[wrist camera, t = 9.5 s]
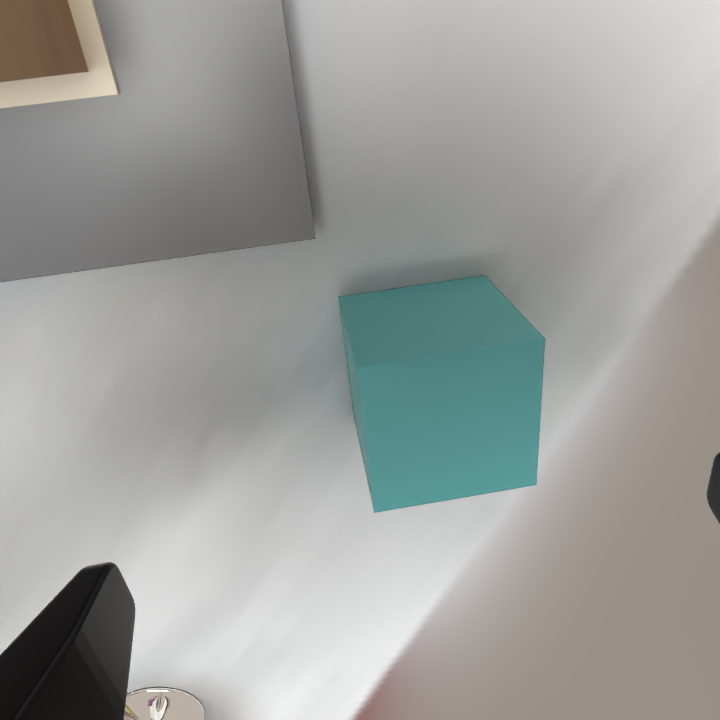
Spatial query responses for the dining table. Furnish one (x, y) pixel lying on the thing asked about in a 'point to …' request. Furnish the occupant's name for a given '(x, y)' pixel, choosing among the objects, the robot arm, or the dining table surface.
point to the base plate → (154, 140)
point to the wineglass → (162, 705)
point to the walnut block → (38, 40)
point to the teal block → (443, 391)
